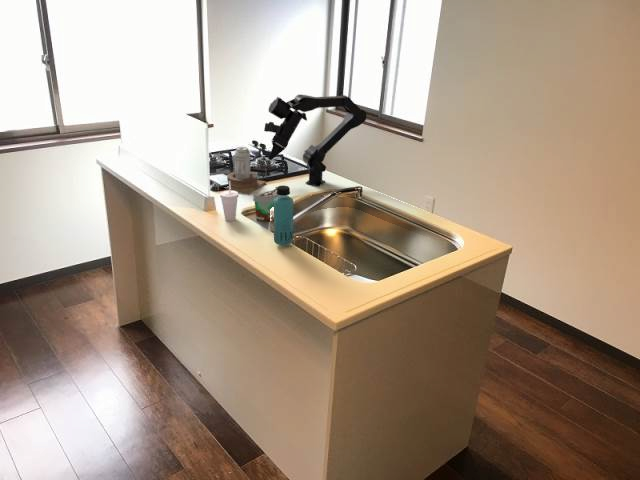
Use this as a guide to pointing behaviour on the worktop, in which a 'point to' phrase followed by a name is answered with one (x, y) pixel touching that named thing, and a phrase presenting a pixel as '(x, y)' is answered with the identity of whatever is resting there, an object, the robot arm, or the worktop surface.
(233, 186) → the brown round bowl
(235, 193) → the smoothie
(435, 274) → the worktop surface
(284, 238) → the beverage bottle
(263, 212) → the food container
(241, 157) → the energy drink can
